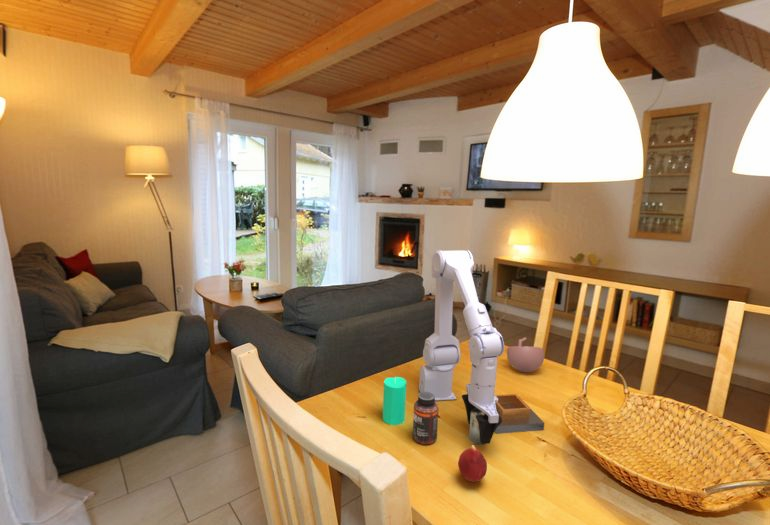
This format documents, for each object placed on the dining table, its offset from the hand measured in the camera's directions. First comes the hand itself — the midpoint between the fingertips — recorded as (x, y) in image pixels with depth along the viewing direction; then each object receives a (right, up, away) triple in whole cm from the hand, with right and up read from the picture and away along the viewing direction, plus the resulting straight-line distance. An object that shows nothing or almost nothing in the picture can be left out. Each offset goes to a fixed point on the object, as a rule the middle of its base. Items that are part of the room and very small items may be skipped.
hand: (478, 432), depth 94 cm
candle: (-21, 0, +8) cm, 22 cm away
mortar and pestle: (+25, +4, +39) cm, 46 cm away
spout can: (0, -2, 0) cm, 2 cm away
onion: (-5, -4, -13) cm, 15 cm away
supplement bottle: (-13, -2, 0) cm, 13 cm away
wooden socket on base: (+10, 0, +10) cm, 15 cm away
